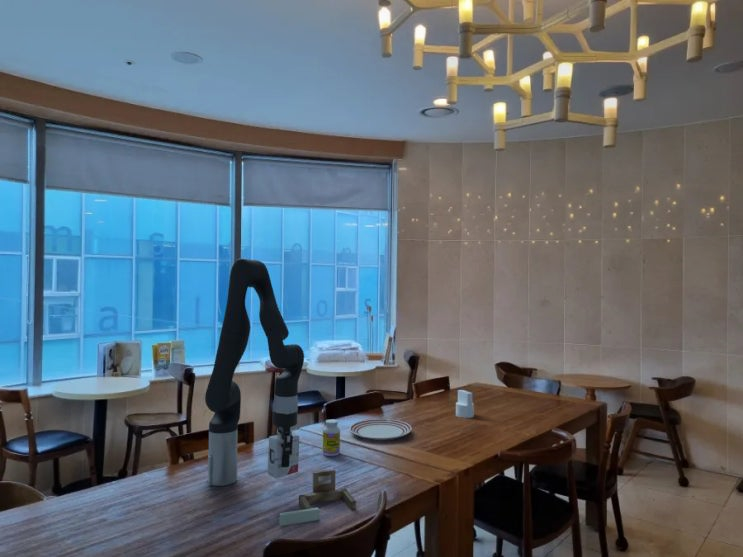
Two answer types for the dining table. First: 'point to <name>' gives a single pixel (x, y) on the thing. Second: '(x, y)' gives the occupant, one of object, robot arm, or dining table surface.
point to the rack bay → (325, 491)
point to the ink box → (276, 457)
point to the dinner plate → (380, 429)
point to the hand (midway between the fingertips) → (283, 462)
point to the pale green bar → (299, 516)
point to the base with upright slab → (464, 404)
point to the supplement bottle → (331, 438)
